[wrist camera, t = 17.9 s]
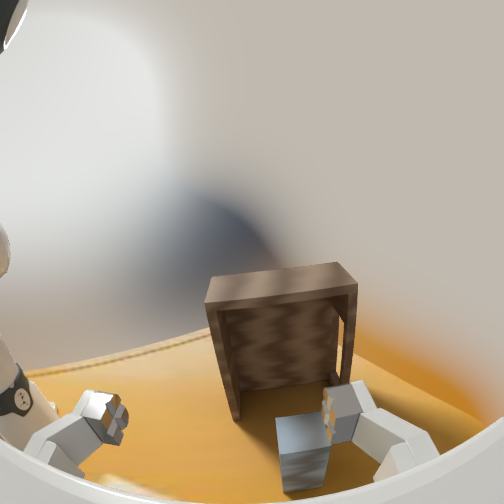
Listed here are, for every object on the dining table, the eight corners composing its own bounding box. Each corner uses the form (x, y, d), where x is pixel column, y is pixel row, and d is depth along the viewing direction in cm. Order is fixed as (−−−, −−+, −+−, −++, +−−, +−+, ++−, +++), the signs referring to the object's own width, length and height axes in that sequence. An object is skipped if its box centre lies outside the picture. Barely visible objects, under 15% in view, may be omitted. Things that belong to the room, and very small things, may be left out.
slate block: (283, 493, 23) (279, 454, 20) (280, 464, 28) (275, 417, 25) (322, 486, 23) (331, 445, 20) (316, 458, 28) (321, 410, 25)
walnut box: (233, 420, 37) (204, 302, 31) (234, 387, 45) (211, 276, 39) (345, 404, 37) (357, 283, 31) (333, 374, 45) (337, 261, 39)
